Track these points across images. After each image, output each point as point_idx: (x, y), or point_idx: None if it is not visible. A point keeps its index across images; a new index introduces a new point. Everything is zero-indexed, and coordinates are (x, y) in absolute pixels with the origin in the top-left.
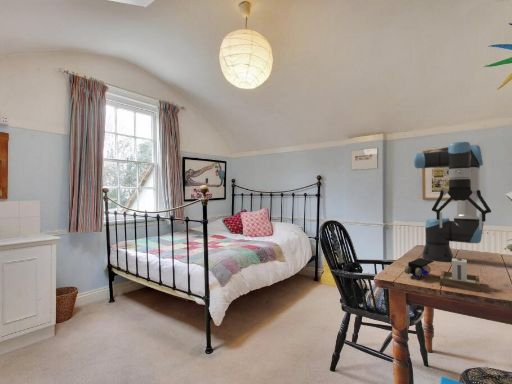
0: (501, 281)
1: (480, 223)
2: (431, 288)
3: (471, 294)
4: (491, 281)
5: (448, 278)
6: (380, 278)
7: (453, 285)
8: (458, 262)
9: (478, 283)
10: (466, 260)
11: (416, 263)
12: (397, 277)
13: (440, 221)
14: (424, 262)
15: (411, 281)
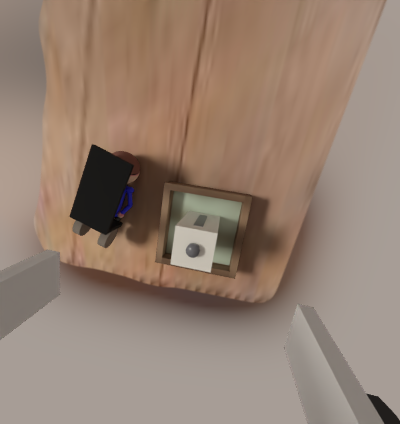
0: (316, 147)
1: (309, 408)
2: (144, 281)
3: (213, 291)
4: (288, 161)
5: (180, 209)
6: None
7: None
8: (189, 266)
9: (233, 273)
10: (214, 244)
11: (90, 217)
12: None
13: (2, 328)
14: (109, 197)
15: None
